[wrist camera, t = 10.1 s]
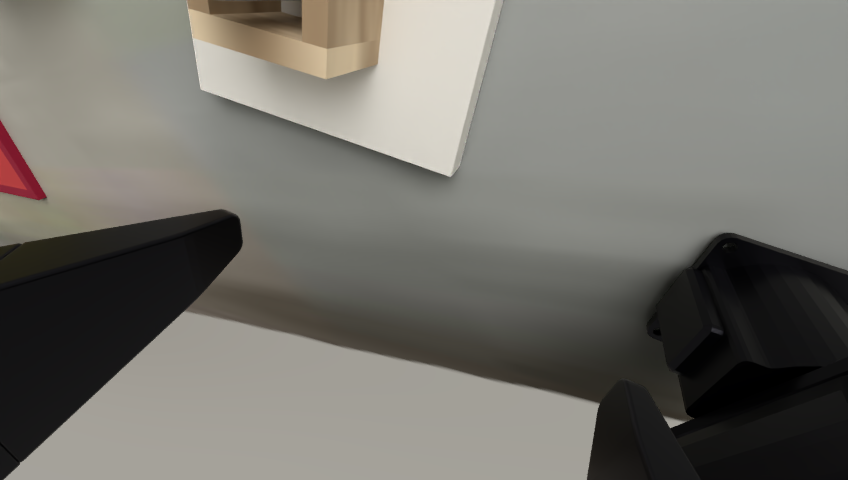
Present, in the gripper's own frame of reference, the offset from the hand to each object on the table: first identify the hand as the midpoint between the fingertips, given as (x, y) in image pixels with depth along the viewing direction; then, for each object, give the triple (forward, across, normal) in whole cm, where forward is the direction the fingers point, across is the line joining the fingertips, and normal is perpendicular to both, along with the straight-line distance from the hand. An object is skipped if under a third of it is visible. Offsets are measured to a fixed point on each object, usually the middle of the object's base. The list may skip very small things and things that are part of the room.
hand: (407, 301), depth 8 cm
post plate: (+12, +10, -5) cm, 16 cm away
